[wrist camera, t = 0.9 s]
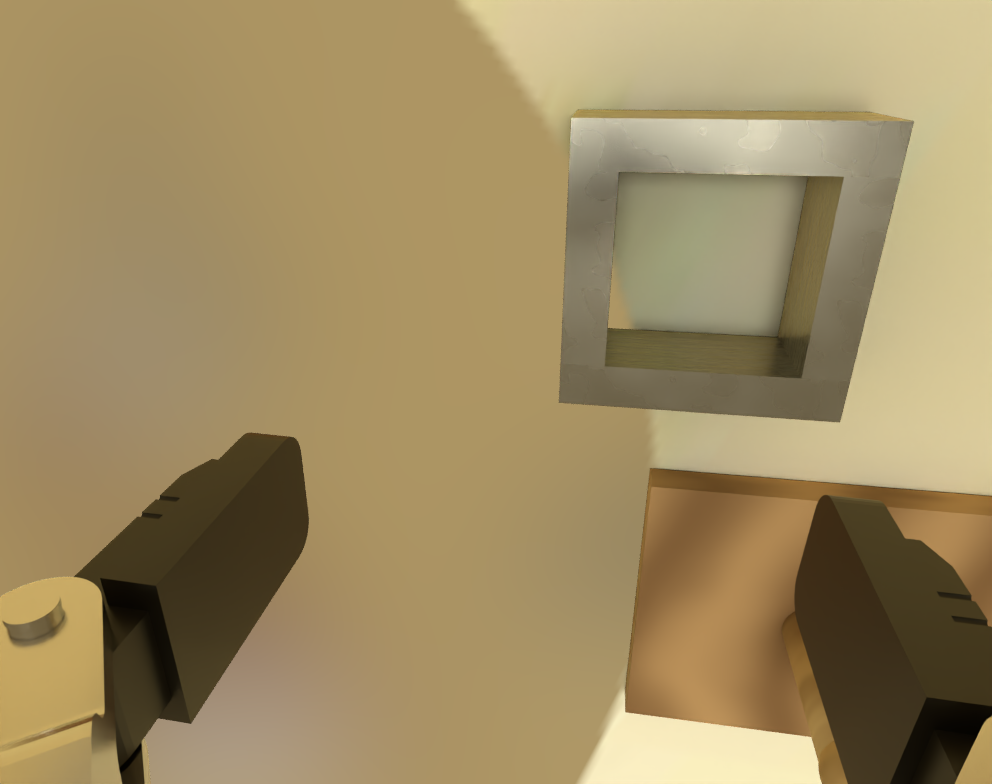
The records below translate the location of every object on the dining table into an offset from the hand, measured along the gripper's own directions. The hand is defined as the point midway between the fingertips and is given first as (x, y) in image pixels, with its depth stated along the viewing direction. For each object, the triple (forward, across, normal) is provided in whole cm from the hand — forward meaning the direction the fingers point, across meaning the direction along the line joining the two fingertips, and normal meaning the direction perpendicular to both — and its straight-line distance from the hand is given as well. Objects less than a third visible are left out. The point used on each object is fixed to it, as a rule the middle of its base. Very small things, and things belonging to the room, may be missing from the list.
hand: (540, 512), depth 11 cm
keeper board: (+18, -12, +17) cm, 28 cm away
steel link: (+18, -4, 0) cm, 19 cm away
